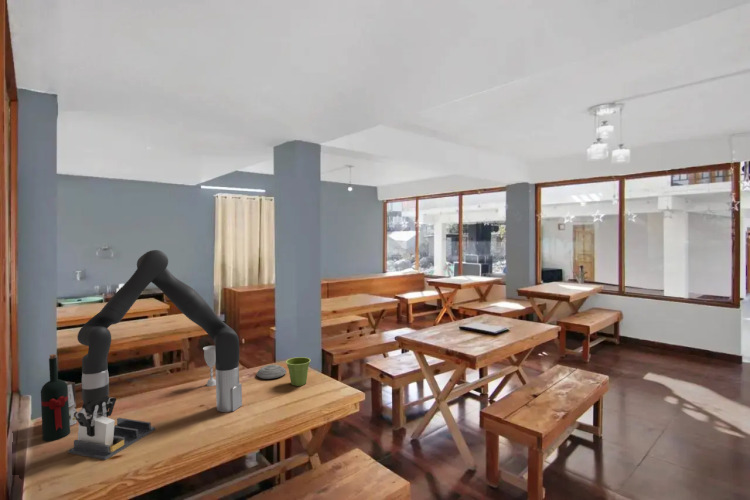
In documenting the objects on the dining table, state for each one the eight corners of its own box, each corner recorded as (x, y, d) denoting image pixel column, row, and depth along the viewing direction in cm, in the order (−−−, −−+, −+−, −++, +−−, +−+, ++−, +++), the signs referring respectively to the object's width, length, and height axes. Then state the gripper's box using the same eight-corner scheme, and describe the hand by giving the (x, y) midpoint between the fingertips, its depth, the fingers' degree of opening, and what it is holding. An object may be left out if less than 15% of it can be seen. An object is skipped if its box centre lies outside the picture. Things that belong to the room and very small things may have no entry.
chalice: (222, 382, 191) (221, 346, 191) (211, 387, 185) (210, 350, 184) (212, 380, 194) (210, 345, 194) (200, 385, 188) (199, 348, 188)
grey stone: (261, 370, 209) (261, 360, 209) (289, 370, 208) (289, 360, 208) (252, 381, 194) (251, 370, 194) (282, 381, 194) (281, 370, 193)
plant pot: (316, 382, 190) (315, 360, 189) (296, 390, 181) (295, 366, 181) (301, 377, 198) (300, 355, 197) (281, 384, 189) (280, 361, 188)
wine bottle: (45, 446, 136) (41, 361, 134) (41, 436, 142) (36, 355, 141) (73, 437, 141) (69, 355, 140) (68, 428, 148) (64, 350, 147)
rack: (155, 429, 146) (155, 420, 146) (105, 460, 127) (105, 449, 127) (121, 424, 150) (121, 415, 150) (68, 453, 131) (68, 442, 131)
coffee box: (77, 422, 152) (75, 382, 152) (59, 430, 146) (57, 388, 146) (62, 419, 155) (60, 379, 155) (43, 427, 149) (41, 385, 149)
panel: (112, 445, 134) (114, 420, 133) (104, 449, 131) (106, 424, 130) (86, 435, 137) (88, 410, 136) (77, 439, 134) (79, 414, 133)
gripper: (83, 393, 125) (84, 445, 126) (122, 377, 138) (123, 425, 139) (65, 390, 127) (67, 442, 128) (106, 375, 140) (107, 422, 141)
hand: (96, 433), depth 134 cm, fingers closed on panel, 3 cm apart
